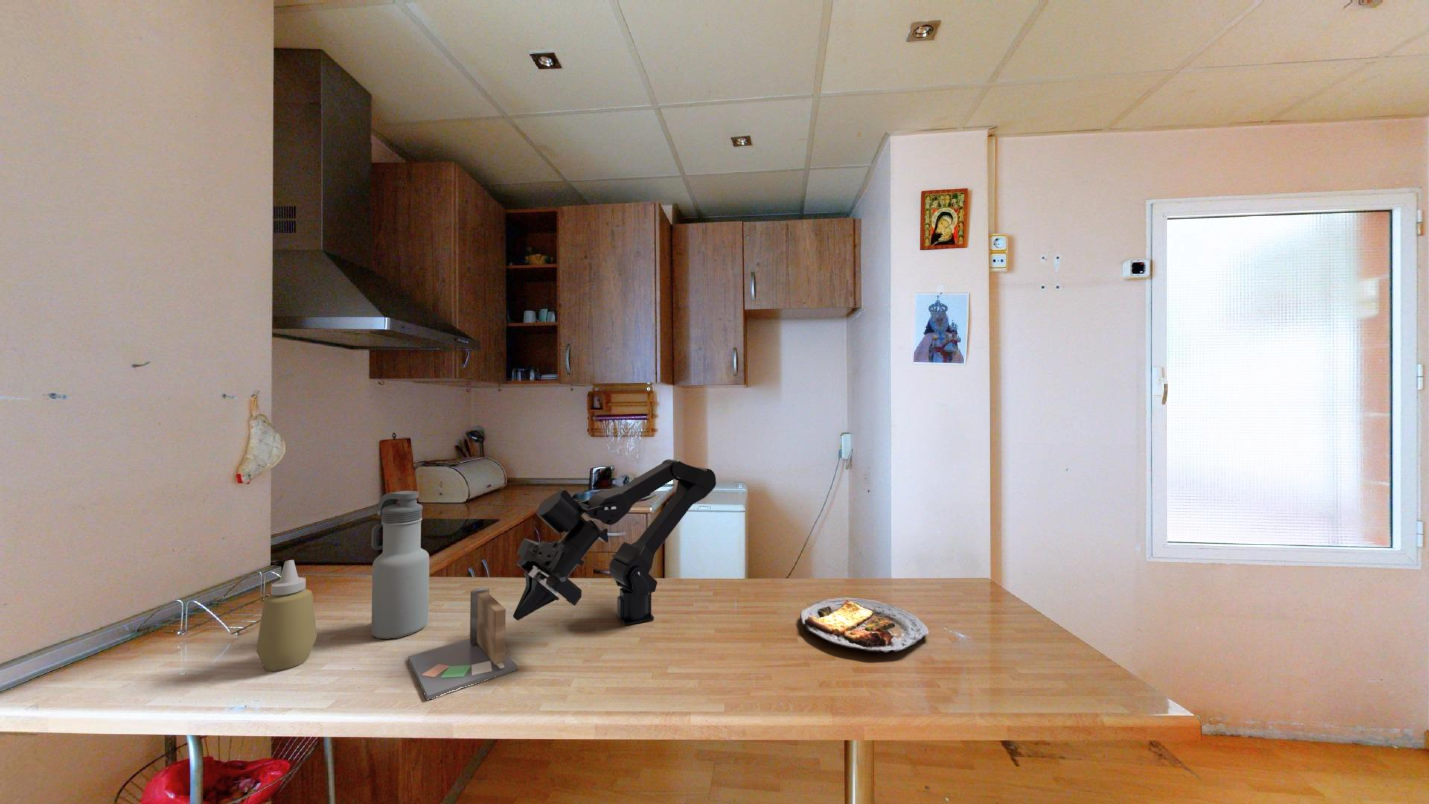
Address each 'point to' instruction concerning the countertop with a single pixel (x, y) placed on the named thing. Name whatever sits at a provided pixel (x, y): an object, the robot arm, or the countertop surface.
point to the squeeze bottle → (287, 622)
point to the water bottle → (399, 568)
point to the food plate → (846, 614)
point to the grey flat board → (455, 667)
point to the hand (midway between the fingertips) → (515, 618)
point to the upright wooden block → (488, 625)
